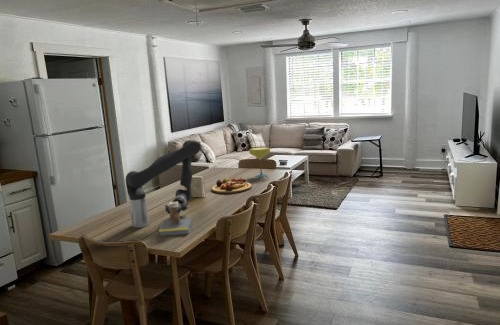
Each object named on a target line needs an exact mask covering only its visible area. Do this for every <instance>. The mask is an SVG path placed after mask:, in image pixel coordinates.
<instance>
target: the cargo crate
mask: <svg viewBox="0 0 500 325" xmlns="http://www.w3.org/2000/svg"><path fill="white" fill-rule="evenodd" d="M168 206H169V210H170V214H169V216H170V219H169V220H171V223H178V222H179V221H180V219H181V215H180V213H181V212H179V213H177V209H178V208H179V204H178V201H177V202H172V201H170V202H169V203H168Z"/></svg>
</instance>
